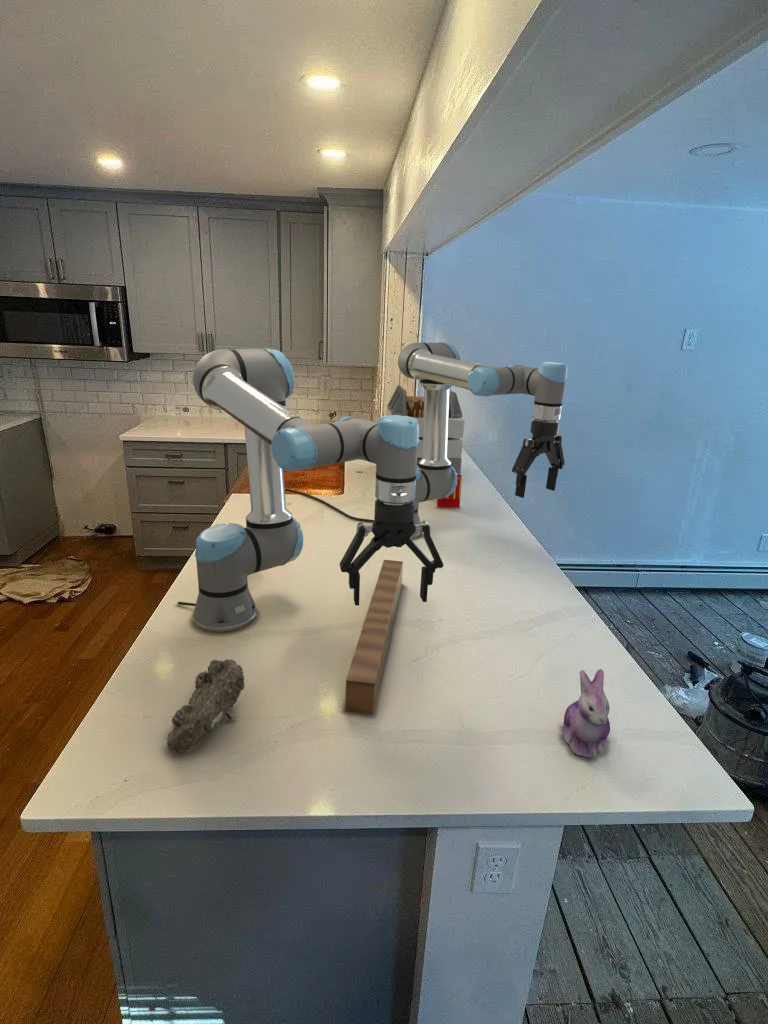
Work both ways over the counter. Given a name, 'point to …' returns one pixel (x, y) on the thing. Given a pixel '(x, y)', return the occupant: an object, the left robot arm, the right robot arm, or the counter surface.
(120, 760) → the counter surface
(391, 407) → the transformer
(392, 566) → the bar
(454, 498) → the toy
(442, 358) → the right robot arm
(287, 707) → the counter surface
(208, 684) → the fossil
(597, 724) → the figurine
